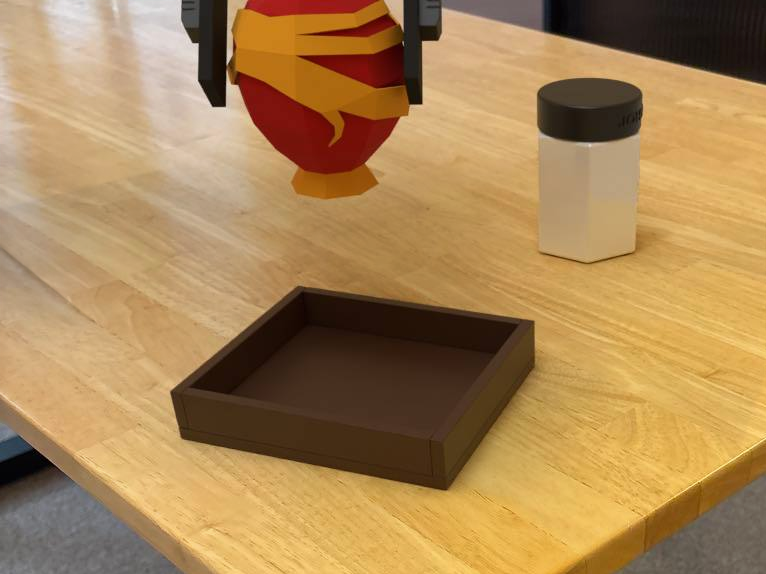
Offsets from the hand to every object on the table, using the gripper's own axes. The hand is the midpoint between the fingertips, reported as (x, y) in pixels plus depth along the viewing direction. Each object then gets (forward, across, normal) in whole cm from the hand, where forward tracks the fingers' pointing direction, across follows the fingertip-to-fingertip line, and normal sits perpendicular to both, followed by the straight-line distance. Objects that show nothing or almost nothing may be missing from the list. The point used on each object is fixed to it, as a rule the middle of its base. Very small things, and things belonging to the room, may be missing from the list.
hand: (313, 93), depth 59 cm
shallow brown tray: (+14, -1, -13) cm, 19 cm away
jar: (-4, -17, -31) cm, 35 cm away
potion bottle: (+2, 0, -6) cm, 7 cm away
